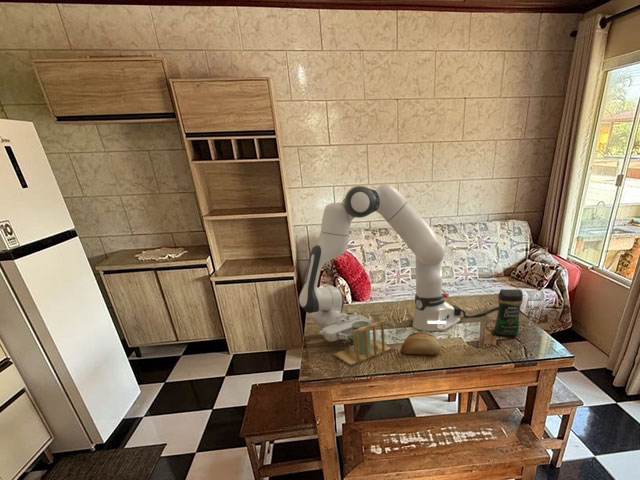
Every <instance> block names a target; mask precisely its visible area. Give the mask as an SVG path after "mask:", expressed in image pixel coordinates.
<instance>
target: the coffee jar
mask: <svg viewBox="0 0 640 480" xmlns="http://www.w3.org/2000/svg"><path fill="white" fill-rule="evenodd" d="M523 293H524V292H523V291H522V289H504V288H502V289H500V290H499V294H498V297H497V302H498V307H499V309H497V310H498V311H497V316H496V320H495V324H494V332H495V334H497V335H498V336H507V337H508V336H517V335H518V334H519V331H520V329H519V328H520V311H521V306H522V304H523V302H524V294H523Z"/></svg>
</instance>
